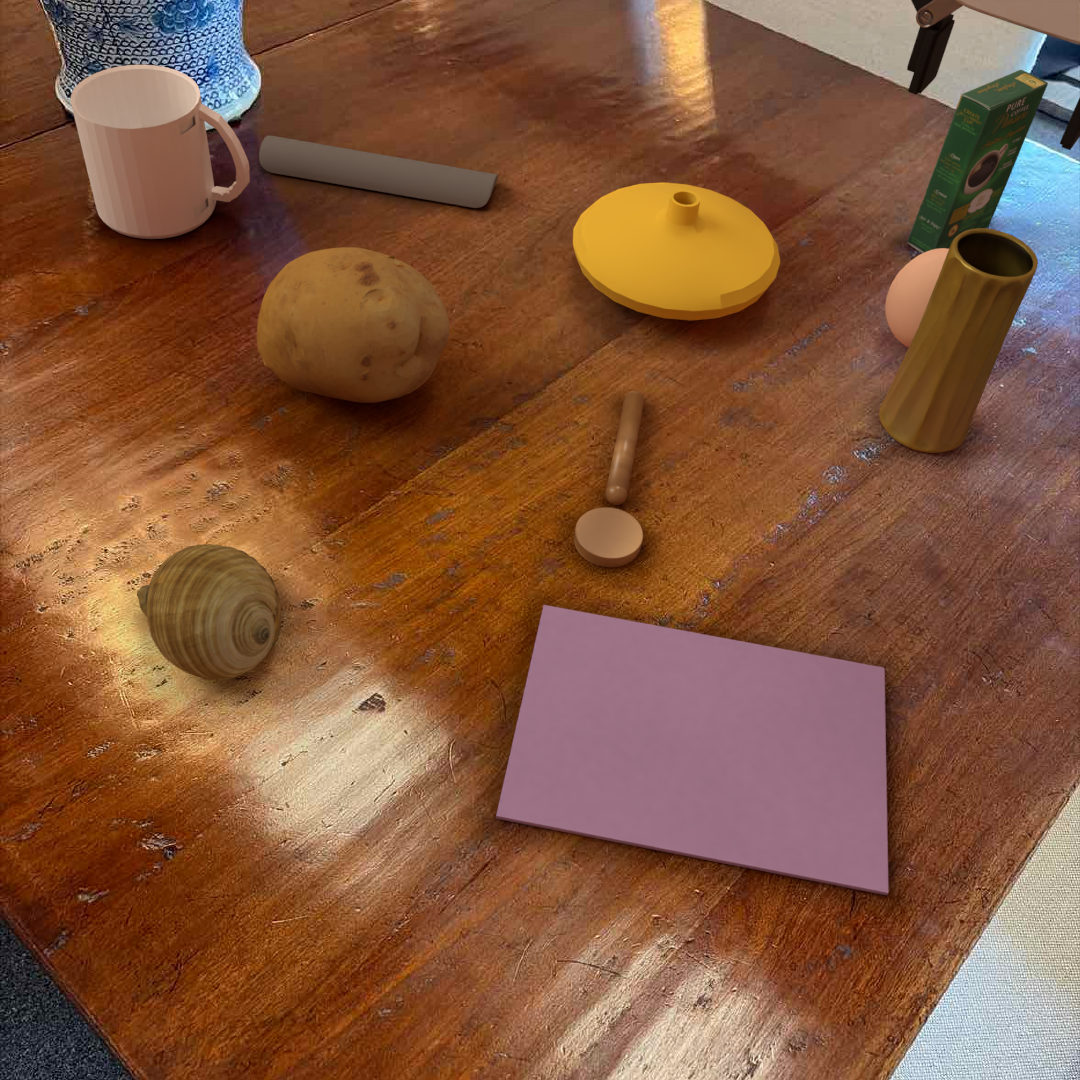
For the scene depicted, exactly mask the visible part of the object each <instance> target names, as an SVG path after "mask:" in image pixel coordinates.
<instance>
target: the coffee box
mask: <svg viewBox="0 0 1080 1080" xmlns="http://www.w3.org/2000/svg"><path fill="white" fill-rule="evenodd" d="M1048 84H1049V83H1048V82H1047V81H1046V80H1043V79H1041V78H1040V77H1038V76H1036V75H1034V74H1033V73H1030V72H1027V71H1025V70H1024V69H1018V70H1016V71H1014V72H1012V73H1008V74H1006V75H1004V76H1002V77H1000V78H997V79H995V80H993V81H990V82H988V83H985V84H983V85H980V86H978V87H976V88H973V89H970V90H969V91H966V92H964V93H961V95H960V97H959V99H958V103H957V105H956V107H955V111H954V113H953V117H952V119H951V122H950V125H949V127H948V131H947V133H946V136H945V139H944V141H943V144H942V147H941V150H940V152H939V155H938V158H937V160H936V162H935V163H936V164H935V166H934V168H933V171H932V174H931V177H930V179H929V182H928V186H927V188H926V190H925V194H924V196H923V198H922V201H921V204H920V206H919V208H918V212H917V215H916V217H915V220H914V224H913V225H912V229H911V231H910V233H909V236H908V238H907V244H908V245H909V246H910V247H912V248H914V249H915V250H916V251H918V252H920V254H922V253H925V252H927V251H930V250H933V249H939V248H947V249H949V248H950V246H951V243H952V241H953V240H954V239H955V237H956V236H958V235H959V234H961V233H962V232H964V231H966V230H970V229H978V228H987V229H989V226H990V225H991V222H992V219H993V217H994V215H995V212H996V211H997V208H998V205H999V203H1000V201H1001V199H1002V196H1003V194H1004V191H1005V190H1006V189H1005V188H1006V186H1007V184H1008V182H1009V179H1010V177H1011V174H1012V172H1013V169H1014V167H1015V164H1016V162H1017V159H1018V157H1019V155H1020V153H1021V150H1022V148H1023V145H1024V143H1025V140H1026V137H1027V135H1028V133H1029V131H1030V128H1031V125H1032V123H1033V121H1034V118H1035V116H1036V114H1037V112H1038V108H1039V106H1040V104H1041V101H1042V99H1043V97H1044V95H1045V92H1046V89H1047V87H1048Z"/></svg>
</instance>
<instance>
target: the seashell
mask: <svg viewBox="0 0 1080 1080" xmlns="http://www.w3.org/2000/svg"><path fill="white" fill-rule="evenodd" d="M136 597H137V598H138V604H139V605H138V606H139V608H140V610H141V612H142V613H143V615H144V616H145V617H146V619H147V624H148V629H149V632H150V637H151V639H152V640H153V643H154V644H155V646H156V648H157V649H158V651H159V652H160V653H161V655H162V656H163V657H164V658H165V659H166V660H167V661H168V662H169V663H170V664H171V665H173V666H175V667H176V668H178V669H179V670H181V671H183V672H184V673H187V674H188V675H190V676H194V677H195V678H200V679H203V680H211V681H223V680H229V679H233V678H237V677H239V676H242V675H245V674H246V673H248V672H249V671H251V670H252V669H254V668H255V667H256V666H257V665H259V664H260V663H261V662H262V661H263V660H264V659H265V658H266V657H267V655H268V654H269V652H270V650H271V648H272V647H274V646H275V644H276V642H277V640H278V638H279V635H280V633H281V630H282V606H281V601H280V595H279V592H278V589H277V587H276V584H275V581H274V579H273V578H272V576H271V574H269V572H268V571H267V569H266V568H265V566H263V565H262V564H261V563H260V562H259V561H258V560H257V559H256V558H254V557H253V556H252V555H249V554H248V553H247V552H246V551H243V550H240V549H237V548H235V547H232V546H226V545H221V544H213V543H212V544H211V543H209V544H206V543H205V544H195V545H190V546H187V547H185V548H183V549H180V550H177V551H175V552H174V553H173V554H172V555H170V556H168V557H167V558H166V559H165V560H164V561H163V562H162V563H161V564H160V565H159V566H158V568H157V569H156V570H155V572H154V573H153V575H152V577H151V580H150V582H149V584H145V585H142V586H141V587H140V588H139V590H137V593H136Z"/></svg>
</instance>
